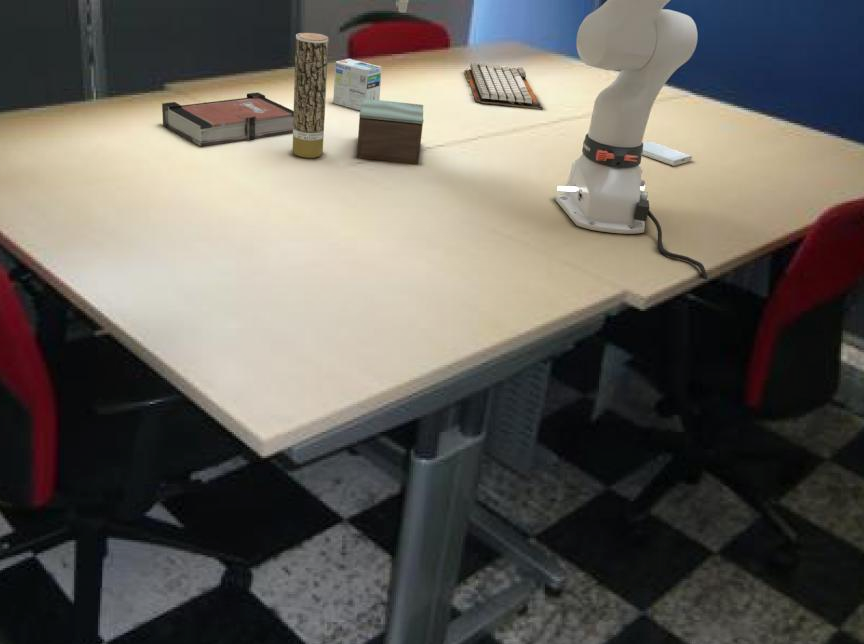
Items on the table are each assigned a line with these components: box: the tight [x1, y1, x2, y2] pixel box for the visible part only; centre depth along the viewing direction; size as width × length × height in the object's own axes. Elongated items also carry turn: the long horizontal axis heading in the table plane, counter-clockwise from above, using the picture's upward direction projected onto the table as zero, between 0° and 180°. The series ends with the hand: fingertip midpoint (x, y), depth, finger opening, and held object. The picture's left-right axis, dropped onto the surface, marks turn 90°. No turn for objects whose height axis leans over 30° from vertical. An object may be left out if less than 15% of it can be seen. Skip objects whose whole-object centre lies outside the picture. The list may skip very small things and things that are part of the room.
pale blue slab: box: [358, 99, 424, 125], centre depth 204 cm, size 15×14×1 cm
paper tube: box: [292, 32, 329, 159], centre depth 195 cm, size 7×7×25 cm
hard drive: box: [642, 140, 693, 167], centre depth 226 cm, size 2×8×12 cm
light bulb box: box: [332, 58, 383, 112], centre depth 235 cm, size 11×7×11 cm, turn 58°
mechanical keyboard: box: [463, 61, 543, 110], centre depth 267 cm, size 38×19×3 cm, turn 2°
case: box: [356, 117, 424, 165], centre depth 207 cm, size 14×14×9 cm
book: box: [161, 91, 294, 148], centre depth 210 cm, size 26×18×5 cm
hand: (401, 11), depth 189 cm, fingers closed
